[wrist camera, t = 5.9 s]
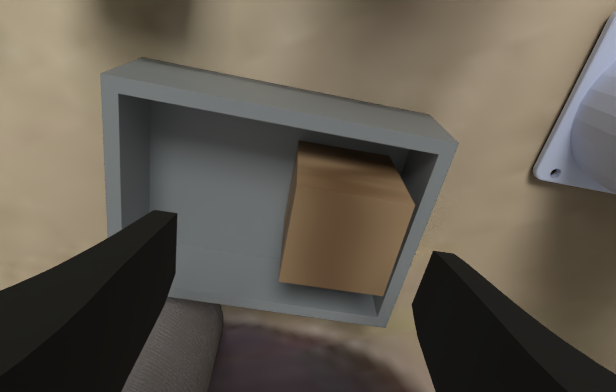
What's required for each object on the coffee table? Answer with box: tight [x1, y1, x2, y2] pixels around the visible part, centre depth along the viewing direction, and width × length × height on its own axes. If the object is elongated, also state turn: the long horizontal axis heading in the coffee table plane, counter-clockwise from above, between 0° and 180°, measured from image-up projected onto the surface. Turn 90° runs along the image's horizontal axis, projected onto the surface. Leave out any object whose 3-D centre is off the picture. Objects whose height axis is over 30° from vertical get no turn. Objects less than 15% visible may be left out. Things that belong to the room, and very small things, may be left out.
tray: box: [100, 57, 459, 328], centre depth 18 cm, size 14×10×4 cm
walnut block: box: [278, 140, 415, 296], centre depth 18 cm, size 4×4×5 cm
